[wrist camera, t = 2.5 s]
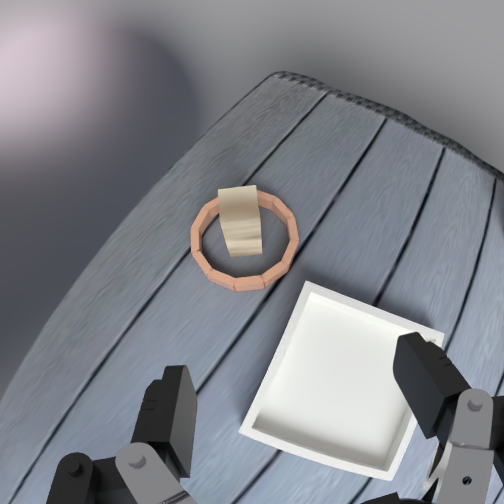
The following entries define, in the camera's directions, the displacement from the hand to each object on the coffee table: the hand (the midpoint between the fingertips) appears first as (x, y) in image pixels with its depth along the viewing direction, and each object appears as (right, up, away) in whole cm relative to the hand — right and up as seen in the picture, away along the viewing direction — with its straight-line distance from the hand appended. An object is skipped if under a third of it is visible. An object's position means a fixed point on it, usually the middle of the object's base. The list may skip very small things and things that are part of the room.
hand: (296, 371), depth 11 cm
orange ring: (-3, +6, +30) cm, 30 cm away
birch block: (-3, +6, +30) cm, 30 cm away
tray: (+9, -11, +22) cm, 26 cm away
